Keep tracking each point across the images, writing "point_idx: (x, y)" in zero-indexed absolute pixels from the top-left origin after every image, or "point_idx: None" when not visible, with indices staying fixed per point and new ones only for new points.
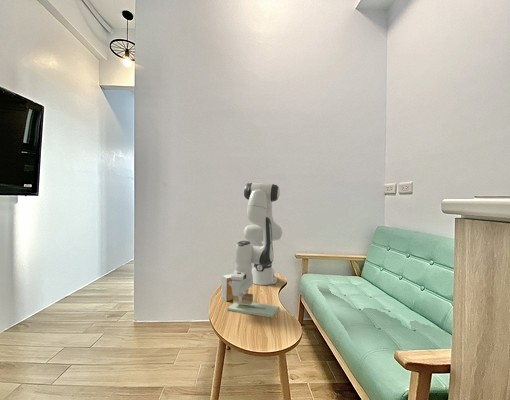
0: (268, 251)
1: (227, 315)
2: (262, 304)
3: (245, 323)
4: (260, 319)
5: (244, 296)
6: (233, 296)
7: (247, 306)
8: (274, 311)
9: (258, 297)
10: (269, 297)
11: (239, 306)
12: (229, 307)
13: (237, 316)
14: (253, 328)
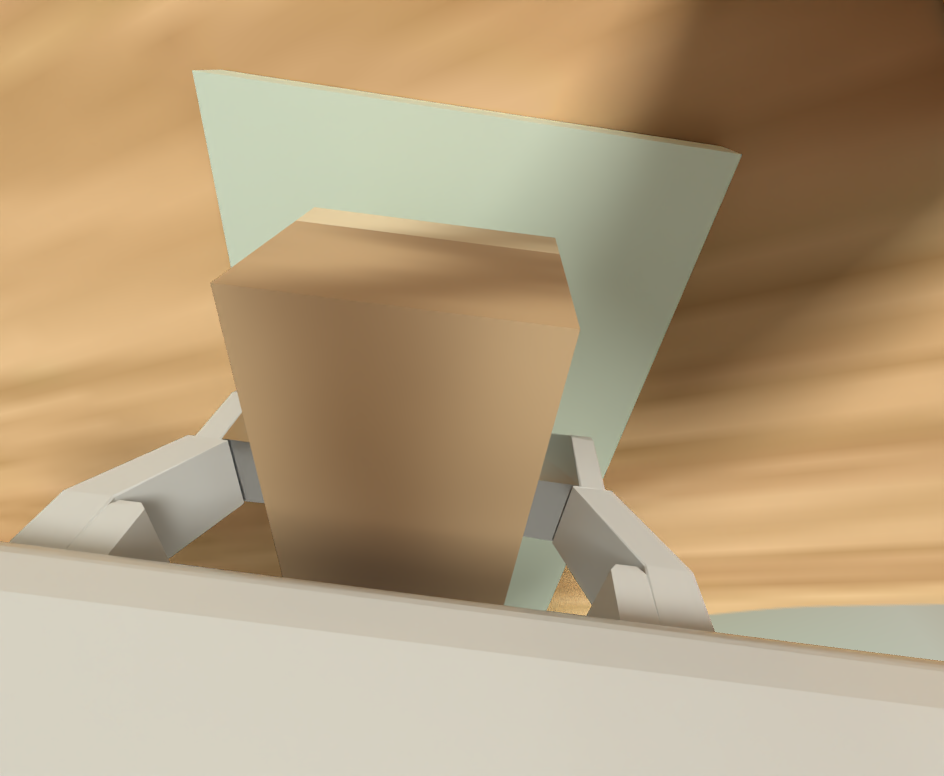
0: None
1: (40, 162)
2: (550, 555)
3: (42, 446)
4: (222, 540)
5: (279, 554)
6: (237, 266)
7: None
8: None
9: (938, 461)
10: (892, 565)
11: None
12: (248, 114)
13: (127, 328)
14: (20, 514)
